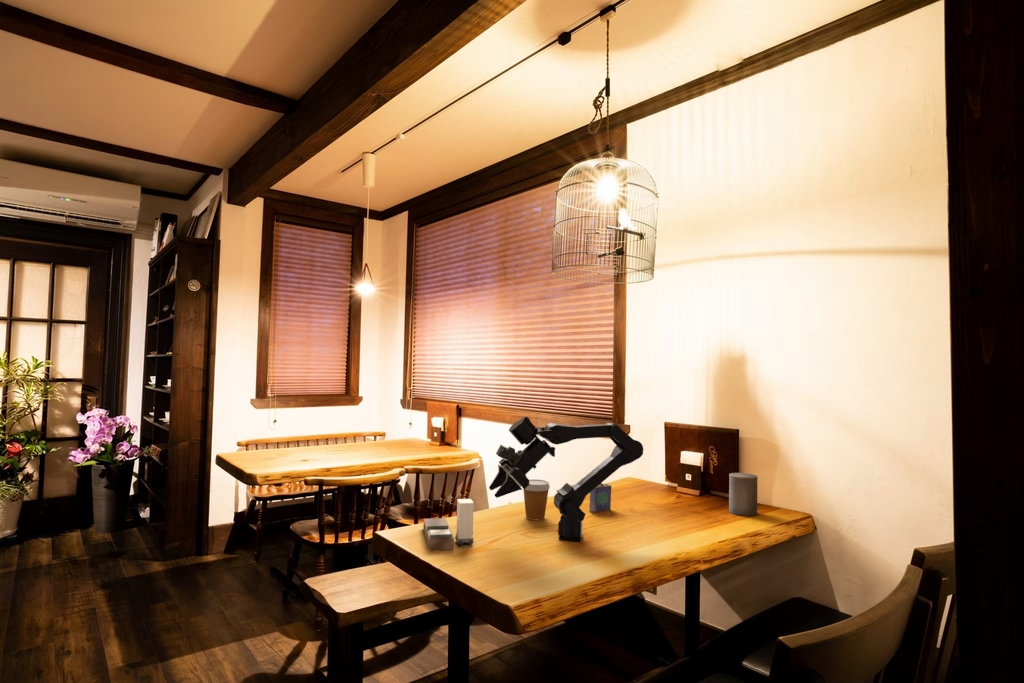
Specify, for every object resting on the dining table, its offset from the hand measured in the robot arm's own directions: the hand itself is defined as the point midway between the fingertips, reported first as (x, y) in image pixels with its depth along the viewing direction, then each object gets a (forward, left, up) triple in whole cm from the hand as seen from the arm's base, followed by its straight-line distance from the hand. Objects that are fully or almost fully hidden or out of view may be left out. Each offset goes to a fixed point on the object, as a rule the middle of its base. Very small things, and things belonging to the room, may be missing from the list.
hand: (492, 492), depth 168 cm
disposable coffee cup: (-7, -29, -14) cm, 33 cm away
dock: (+16, +3, -14) cm, 21 cm away
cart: (+7, +4, -14) cm, 16 cm away
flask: (-27, -46, -14) cm, 55 cm away
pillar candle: (-77, -62, -14) cm, 100 cm away
